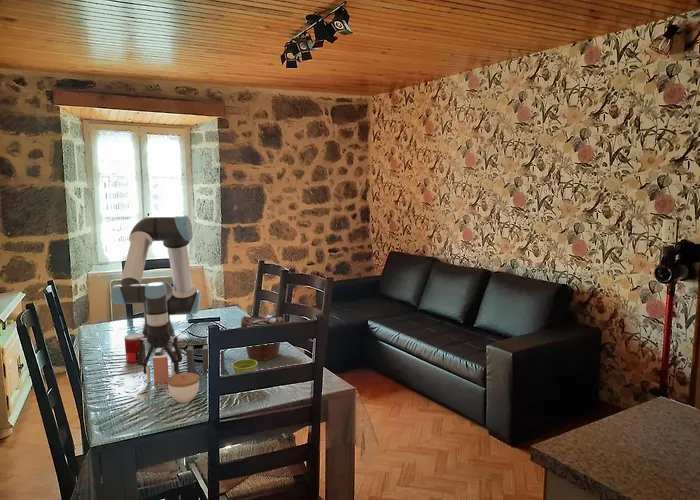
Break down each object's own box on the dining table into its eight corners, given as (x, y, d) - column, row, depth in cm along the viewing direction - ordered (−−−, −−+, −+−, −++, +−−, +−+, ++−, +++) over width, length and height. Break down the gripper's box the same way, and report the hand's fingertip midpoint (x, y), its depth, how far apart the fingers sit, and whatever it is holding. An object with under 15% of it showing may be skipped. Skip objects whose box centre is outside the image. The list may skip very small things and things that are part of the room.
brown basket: (295, 354, 232) (293, 314, 230) (258, 366, 218) (256, 324, 215) (269, 346, 244) (267, 308, 242) (233, 357, 230) (230, 317, 227)
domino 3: (174, 371, 214) (172, 347, 213) (179, 370, 214) (177, 346, 213) (172, 375, 209) (170, 351, 208) (177, 375, 209) (175, 351, 208)
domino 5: (204, 369, 216) (203, 345, 215) (209, 368, 216) (208, 345, 215) (203, 373, 211) (202, 349, 210) (208, 373, 211) (207, 349, 210)
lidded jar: (170, 407, 181) (168, 381, 179) (167, 395, 190) (165, 370, 189) (202, 402, 185) (201, 376, 183) (198, 390, 194) (196, 366, 193)
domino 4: (189, 370, 215) (188, 346, 214) (194, 369, 215) (193, 346, 214) (187, 374, 210) (186, 350, 209) (193, 374, 210) (191, 350, 209)
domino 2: (154, 383, 202) (152, 358, 200) (155, 381, 204) (153, 356, 202) (167, 382, 203) (166, 357, 201) (168, 380, 205) (167, 355, 203)
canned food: (139, 364, 222) (137, 339, 220) (122, 363, 223) (120, 338, 222) (149, 358, 229) (148, 333, 228) (133, 357, 231) (131, 332, 229)
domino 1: (158, 372, 213) (157, 348, 212) (163, 371, 213) (162, 347, 212) (156, 376, 208) (154, 352, 207) (161, 376, 209) (159, 352, 207)
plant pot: (236, 392, 192) (235, 369, 191) (230, 383, 201) (229, 361, 199) (261, 387, 197) (260, 365, 195) (254, 379, 205) (253, 357, 204)
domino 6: (219, 367, 217) (218, 344, 215) (224, 367, 217) (223, 344, 216) (218, 372, 212) (217, 348, 211) (223, 372, 212) (222, 348, 211)
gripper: (125, 328, 195) (129, 386, 198) (185, 324, 198) (189, 382, 201) (130, 322, 202) (134, 378, 205) (188, 319, 205) (191, 374, 209)
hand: (161, 380), depth 203 cm, fingers open, 9 cm apart
